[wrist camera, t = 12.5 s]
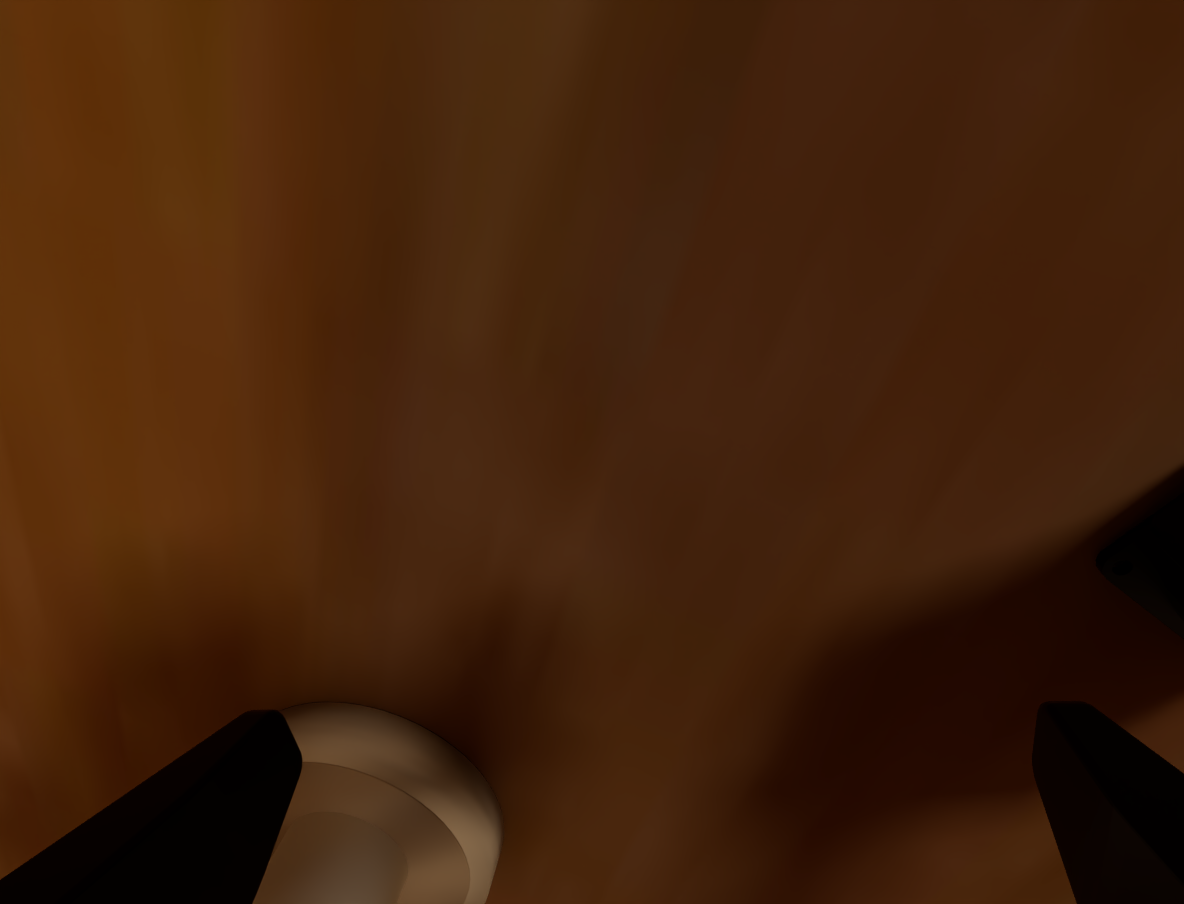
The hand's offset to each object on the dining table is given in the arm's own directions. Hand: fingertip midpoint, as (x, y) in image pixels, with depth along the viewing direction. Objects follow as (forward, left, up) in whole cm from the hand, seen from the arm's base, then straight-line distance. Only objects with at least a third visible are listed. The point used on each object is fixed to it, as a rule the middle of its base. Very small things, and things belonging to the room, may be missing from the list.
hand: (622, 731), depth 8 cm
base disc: (-2, +24, -13) cm, 27 cm away
